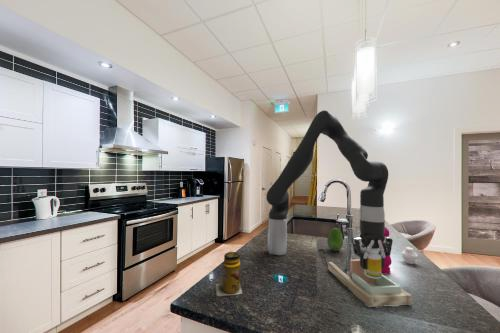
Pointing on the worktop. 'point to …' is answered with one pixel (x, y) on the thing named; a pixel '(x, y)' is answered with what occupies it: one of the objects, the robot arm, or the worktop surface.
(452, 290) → the worktop surface
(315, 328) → the worktop surface
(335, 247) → the avocado
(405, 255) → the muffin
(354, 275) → the drawer
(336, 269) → the bay
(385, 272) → the pepper mill
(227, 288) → the condiment
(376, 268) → the supplement bottle
